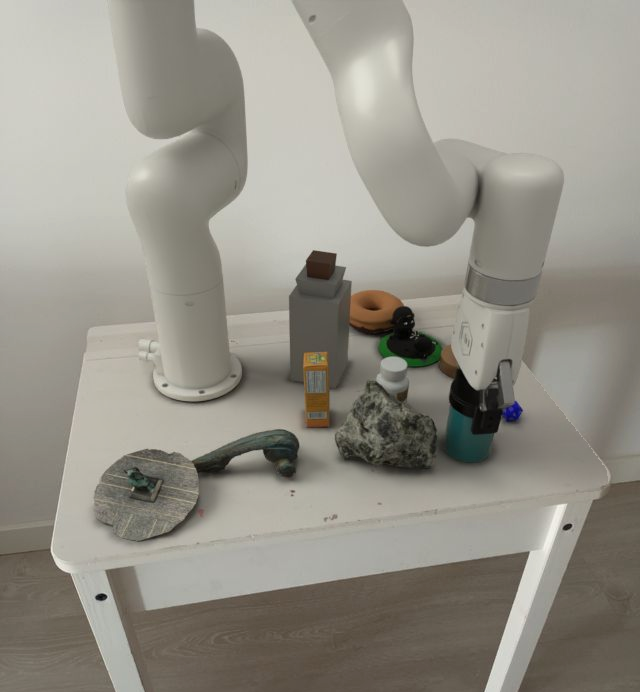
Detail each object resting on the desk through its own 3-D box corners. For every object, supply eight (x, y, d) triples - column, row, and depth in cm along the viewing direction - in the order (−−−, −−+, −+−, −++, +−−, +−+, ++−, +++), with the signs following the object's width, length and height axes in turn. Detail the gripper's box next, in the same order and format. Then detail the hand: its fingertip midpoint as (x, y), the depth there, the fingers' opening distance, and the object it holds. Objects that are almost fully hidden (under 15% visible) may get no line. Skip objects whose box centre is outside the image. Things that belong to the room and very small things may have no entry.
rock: (394, 495, 85) (438, 432, 85) (416, 508, 76) (464, 437, 77) (318, 441, 82) (364, 376, 83) (332, 448, 74) (383, 376, 74)
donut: (341, 316, 101) (341, 338, 104) (406, 317, 101) (404, 339, 104) (343, 285, 109) (343, 306, 112) (403, 286, 109) (401, 307, 111)
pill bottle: (403, 422, 88) (409, 375, 83) (371, 418, 88) (375, 370, 83) (407, 403, 91) (412, 356, 86) (375, 399, 92) (379, 352, 87)
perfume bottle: (290, 380, 95) (288, 264, 83) (304, 355, 100) (304, 242, 88) (335, 388, 93) (339, 272, 82) (347, 362, 98) (353, 249, 87)
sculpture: (90, 466, 78) (117, 422, 74) (160, 479, 84) (190, 438, 80) (97, 551, 71) (128, 506, 67) (174, 559, 76) (207, 518, 72)
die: (516, 428, 87) (505, 413, 86) (503, 423, 90) (493, 408, 88) (529, 413, 88) (519, 398, 86) (516, 409, 90) (506, 394, 89)
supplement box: (303, 412, 89) (303, 350, 83) (329, 412, 89) (330, 350, 83) (303, 428, 87) (303, 365, 80) (329, 428, 87) (331, 365, 80)
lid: (457, 421, 77) (459, 408, 75) (441, 387, 82) (443, 375, 81) (512, 416, 77) (515, 404, 76) (493, 383, 82) (496, 371, 81)
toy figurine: (403, 373, 96) (406, 339, 92) (365, 341, 103) (367, 308, 99) (456, 355, 100) (462, 322, 96) (417, 325, 107) (421, 293, 103)
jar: (440, 457, 83) (449, 403, 77) (446, 428, 87) (455, 374, 82) (488, 466, 81) (502, 412, 76) (492, 436, 86) (505, 383, 80)
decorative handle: (293, 442, 84) (292, 411, 81) (305, 477, 79) (305, 446, 76) (174, 461, 81) (169, 430, 78) (180, 499, 76) (174, 467, 73)
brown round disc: (436, 375, 96) (437, 364, 95) (442, 351, 101) (443, 340, 100) (483, 383, 95) (485, 372, 94) (486, 358, 100) (489, 347, 99)
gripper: (444, 247, 75) (425, 374, 87) (495, 325, 62) (466, 463, 74) (506, 244, 76) (480, 370, 88) (570, 320, 63) (530, 458, 75)
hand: (474, 412), depth 81 cm, fingers closed on lid, 6 cm apart
